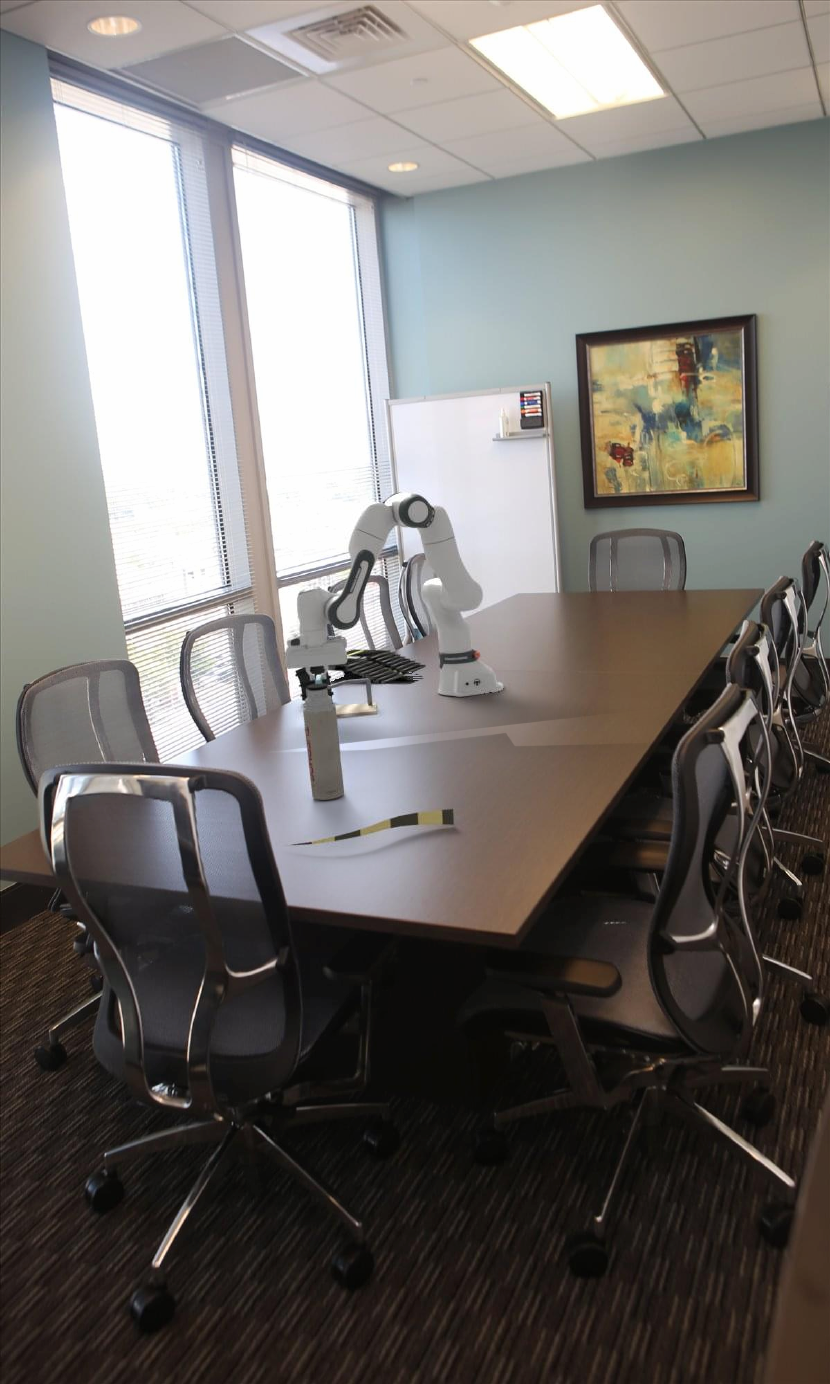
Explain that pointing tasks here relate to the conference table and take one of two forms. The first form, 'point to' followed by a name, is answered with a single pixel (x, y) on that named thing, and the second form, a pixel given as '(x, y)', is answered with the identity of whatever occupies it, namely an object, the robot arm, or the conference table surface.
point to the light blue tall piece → (318, 679)
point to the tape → (397, 824)
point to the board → (355, 710)
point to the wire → (368, 682)
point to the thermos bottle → (323, 744)
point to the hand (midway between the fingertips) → (318, 679)
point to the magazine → (306, 681)
